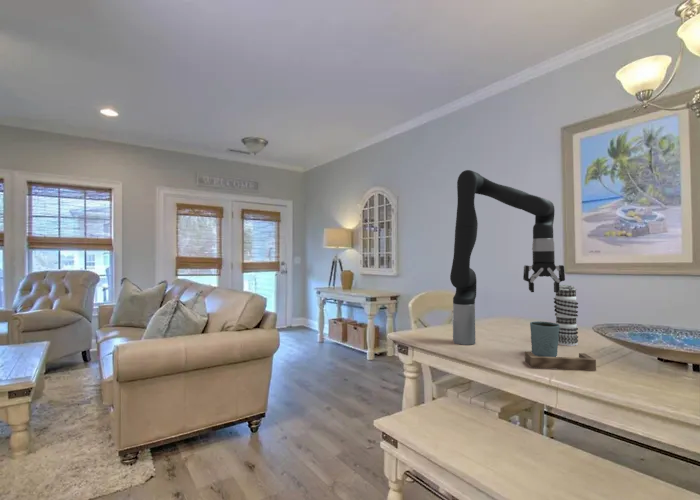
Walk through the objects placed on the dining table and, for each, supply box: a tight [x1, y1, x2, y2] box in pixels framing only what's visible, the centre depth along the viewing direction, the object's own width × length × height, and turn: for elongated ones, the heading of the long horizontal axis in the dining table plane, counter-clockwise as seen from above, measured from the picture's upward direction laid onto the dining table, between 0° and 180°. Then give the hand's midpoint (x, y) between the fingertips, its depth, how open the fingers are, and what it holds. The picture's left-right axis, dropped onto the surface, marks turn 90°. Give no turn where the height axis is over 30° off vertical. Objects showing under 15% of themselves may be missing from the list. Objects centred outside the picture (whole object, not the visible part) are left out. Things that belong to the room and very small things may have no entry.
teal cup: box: [529, 321, 560, 357], centre depth 143 cm, size 10×10×12 cm
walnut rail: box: [524, 351, 597, 371], centre depth 129 cm, size 20×8×4 cm, turn 80°
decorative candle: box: [553, 284, 579, 347], centre depth 160 cm, size 9×9×25 cm
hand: (544, 292), depth 143 cm, fingers open, 8 cm apart
